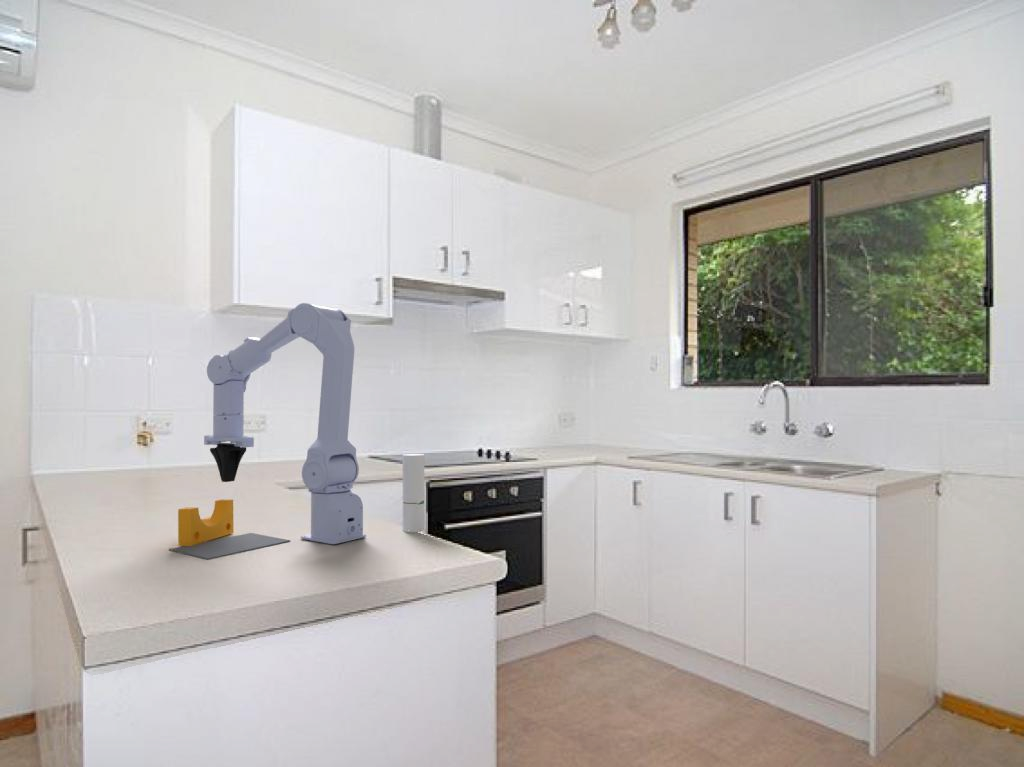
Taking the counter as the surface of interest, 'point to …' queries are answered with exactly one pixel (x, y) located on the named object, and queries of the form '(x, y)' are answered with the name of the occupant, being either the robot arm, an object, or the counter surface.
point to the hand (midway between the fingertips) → (228, 481)
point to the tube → (413, 492)
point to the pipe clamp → (204, 524)
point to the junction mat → (229, 545)
